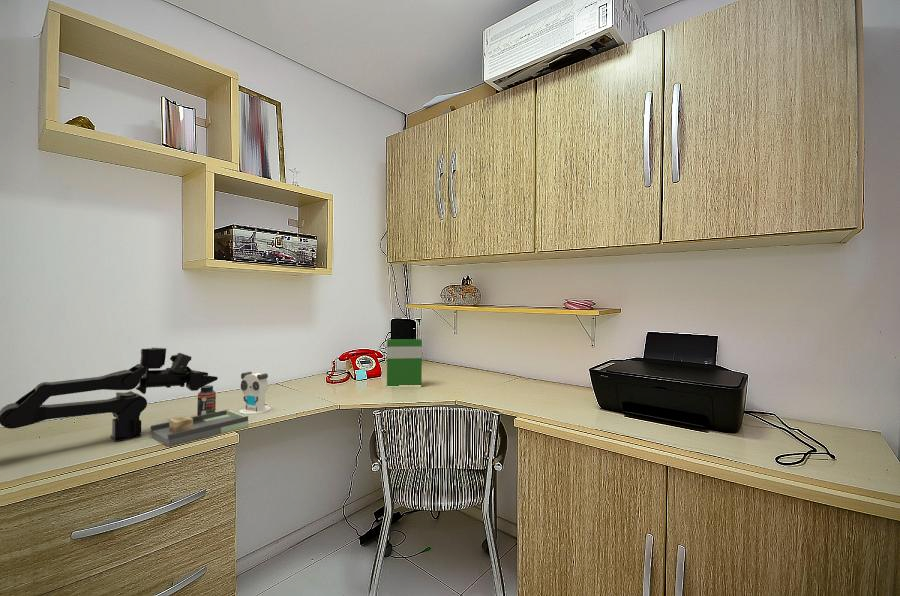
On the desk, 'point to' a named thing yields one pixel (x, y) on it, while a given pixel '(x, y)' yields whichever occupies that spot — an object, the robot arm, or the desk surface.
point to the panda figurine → (254, 392)
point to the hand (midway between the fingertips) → (212, 376)
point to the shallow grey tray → (200, 427)
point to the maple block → (180, 424)
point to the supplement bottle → (206, 400)
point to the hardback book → (404, 362)
